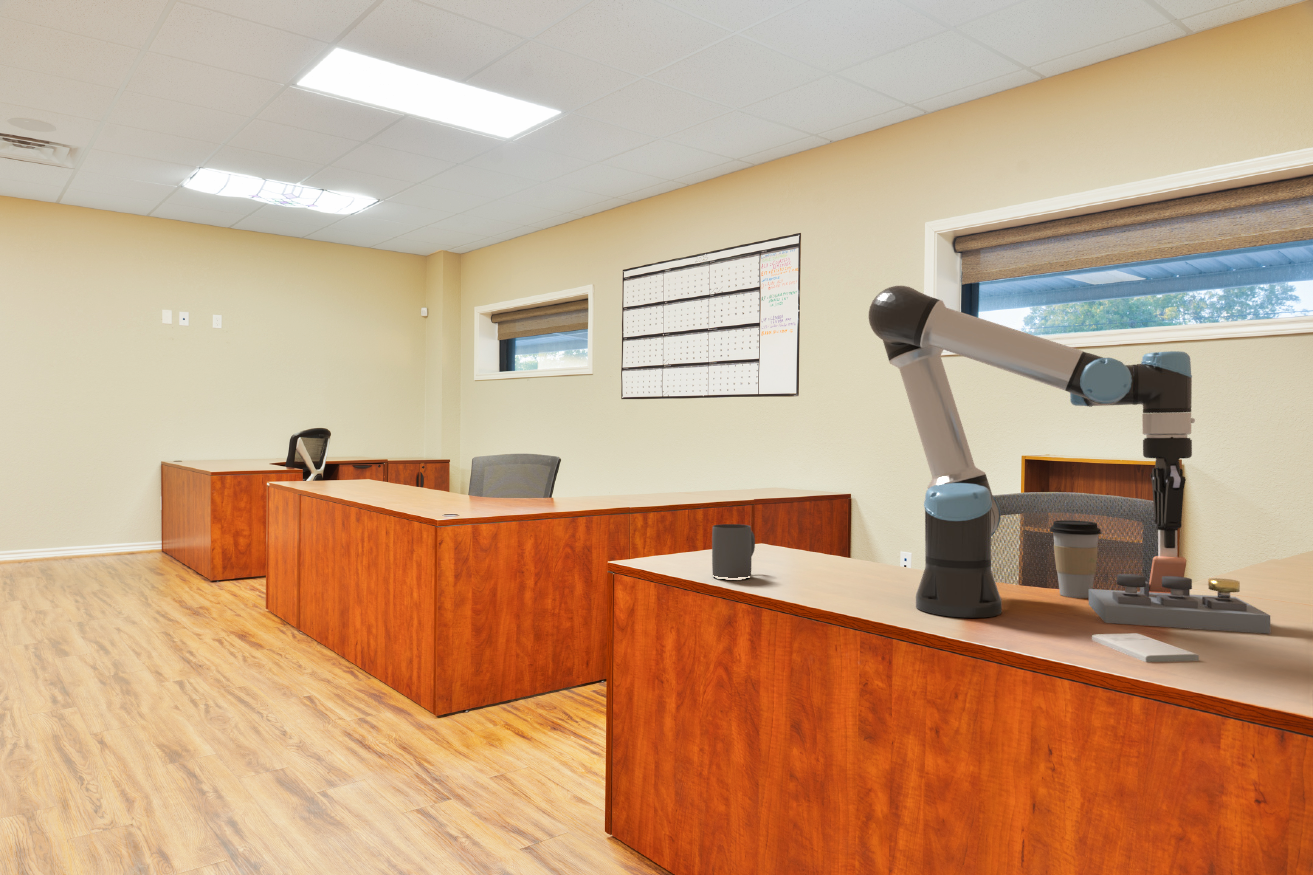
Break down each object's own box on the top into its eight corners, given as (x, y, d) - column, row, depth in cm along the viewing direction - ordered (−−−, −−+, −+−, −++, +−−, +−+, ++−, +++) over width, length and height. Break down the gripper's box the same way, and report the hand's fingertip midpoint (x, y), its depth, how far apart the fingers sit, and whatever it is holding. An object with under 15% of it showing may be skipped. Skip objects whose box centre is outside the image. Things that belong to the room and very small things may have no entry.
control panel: (1105, 622, 138) (1105, 591, 138) (1088, 604, 153) (1088, 576, 153) (1270, 633, 130) (1270, 600, 130) (1235, 613, 145) (1235, 583, 145)
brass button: (1213, 598, 135) (1213, 581, 135) (1204, 594, 139) (1204, 577, 139) (1243, 600, 133) (1243, 583, 133) (1234, 595, 137) (1234, 579, 137)
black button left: (1119, 593, 139) (1119, 577, 139) (1114, 589, 144) (1114, 573, 144) (1148, 595, 138) (1148, 578, 138) (1142, 590, 142) (1142, 574, 142)
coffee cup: (1108, 600, 156) (1108, 525, 156) (1057, 599, 158) (1056, 524, 158) (1092, 591, 165) (1092, 520, 165) (1043, 590, 167) (1043, 519, 167)
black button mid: (1165, 596, 137) (1165, 579, 137) (1159, 591, 141) (1158, 575, 141) (1195, 597, 136) (1195, 581, 136) (1187, 593, 140) (1187, 576, 140)
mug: (736, 582, 177) (736, 529, 177) (704, 577, 183) (704, 526, 183) (769, 574, 187) (769, 524, 187) (738, 570, 194) (738, 521, 194)
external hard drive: (1145, 666, 114) (1091, 643, 126) (1199, 664, 114) (1140, 642, 127) (1145, 655, 114) (1091, 633, 126) (1199, 653, 114) (1140, 632, 127)
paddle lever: (1149, 591, 146) (1154, 558, 143) (1147, 587, 147) (1152, 554, 144) (1181, 593, 145) (1187, 560, 141) (1179, 589, 146) (1186, 556, 142)
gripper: (1202, 436, 137) (1203, 572, 137) (1180, 435, 149) (1181, 560, 149) (1152, 437, 139) (1153, 570, 139) (1135, 436, 151) (1135, 558, 152)
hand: (1167, 565), depth 144 cm, fingers closed
